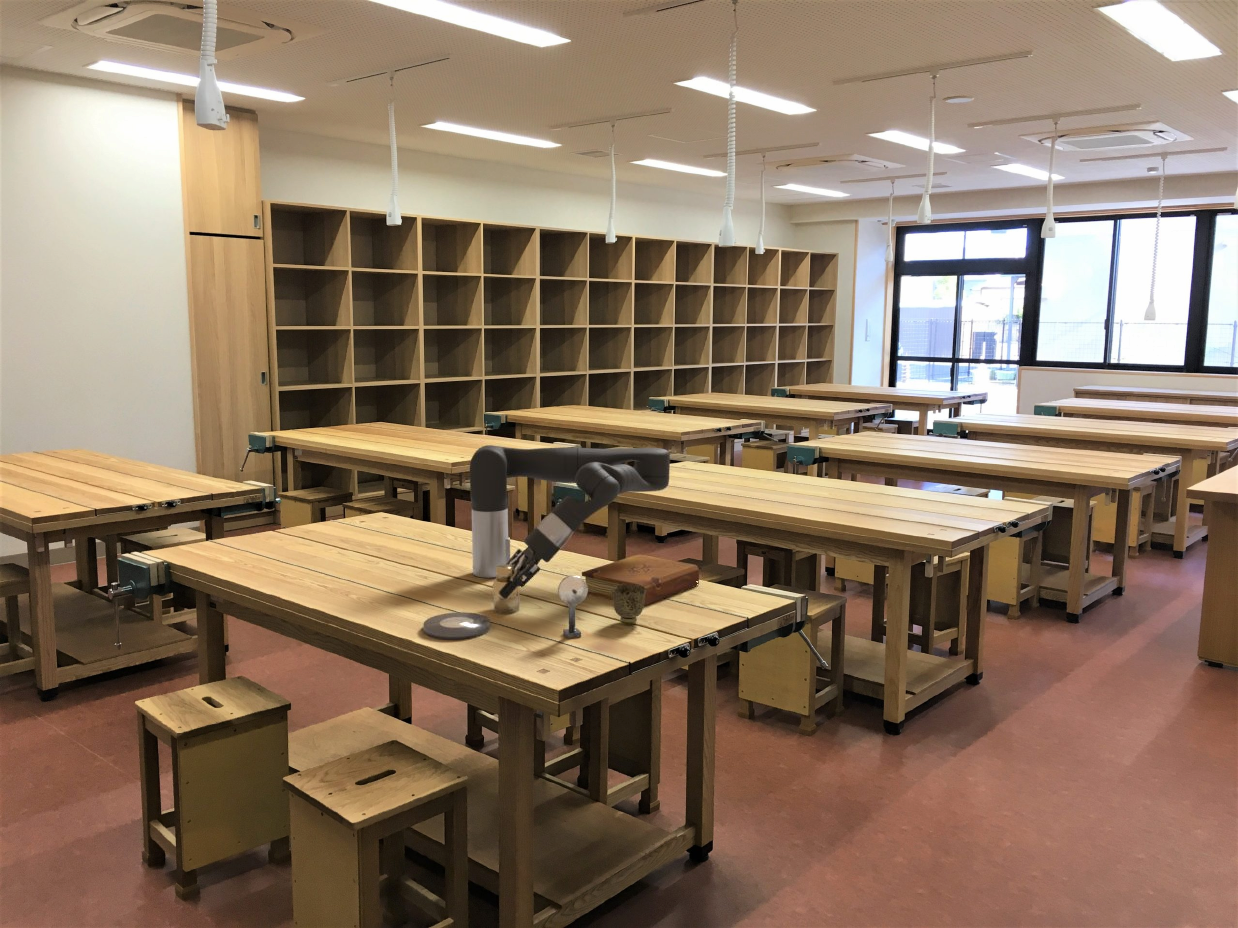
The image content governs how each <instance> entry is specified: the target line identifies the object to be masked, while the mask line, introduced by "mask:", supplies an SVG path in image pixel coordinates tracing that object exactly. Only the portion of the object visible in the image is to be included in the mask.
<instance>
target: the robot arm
mask: <svg viewBox="0 0 1238 928" xmlns="http://www.w3.org/2000/svg"><path fill="white" fill-rule="evenodd" d="M632 461H634V464H633V466H634V467H632V466H630V465H629V464H625V463H626V462H632ZM670 464H671V454H670V452H669V450H667V449H664V448H659V447H639V448H638V447H637V448H636V447H633V448H587V447H565V446H564V447H541V448H538V447H537V448H529V449H528V448H515V447H507V446H501V445H498V446H497V445H493V444H492V445H491V444H489V445H483V446H481V447H478V449H477V450H475V452H474V454H473V455H472V457H471V459H470V461H469V487H470V502H471V503H470V505H471V532H472V533H471V540H472V541H471V542H472V549H471V550H472V551H471V552H472V575H473V576H475V577H478V578H489V579H491V578H496V567H497V566H499V565H514V566H516V568H515V569H514V574H513V576H512V577H511V579H510V581H508V582H507V583H506V584H505V585H504V587H503V588H502V589H501V590H500V591H499V594H500V595H501V596H502V597H503V598H504V599H506V598H507V597H508V596H509V595H510V594H511V593H512V592H513V591H514V590H515V589H516V588H517V587H519V588H520V587H521V588H523V587H524V586H526V584H527V583H528V582H529V581H531V580H532V579H533V577H535V575H537V574H538V573H539V572H540V570H541V567H539V563H540V561H541V560H542V561H544V562H545V563H549V562H550V561H551V560H552V559H553V558H554V557H555V555H557V553H558V552H559V551H560V550H561V549H562V548H563V547H564V546H565V544H567V542H569V540H570V539H571V537H572V536H573V534H574V533H576V531H577V530H578V529H579V528H580V527H581V525H582V524H583V523H584V522H585V521H586V520H587V519H588V518H590V517H591V516H593V515H594V514H595V513H596V512H598V511H600V510H602V509H604V508H605V507H607V506H608V505H610V504H611V503H612V502H614V500H615V499H616V498H617V497H618V496H619V495H620V494H624V493H645V492H646V493H648V492H649V493H650V492H659V491H663V490H665V489H667V488H668V486H669V482H670V469H671V468H670V467H671V466H670ZM522 477H523V478H531V479H535V480H536V479H537V480H541V481H546V482H551V483H558V484H559V483H560V484H576V486H577V488H578V489H579V490H580V491H582V492H583V493H584V494H585V495H586V496H587V497H588V498H589V499H588V500H586V501H581V500H579V499H577V498H575V497H574V496H569V495H567V496H565V497H564V498H563V499H562V500H561V501H560V502H559V503H558V504H557V506H555V508H553V510H551V512H550V513H549V514H547V515H546V516H544V518H543V519H542V520H541V521H540V522H539V523H538V524H537V526H536V527H535V528H533V530H532V531H531V532H529V534H528V535H527V536H526V538H524V539H523V542H524V544H525V545H526V546H527V547H526V548H525V549H524V550H521V549H520V548H518V549H516V551H515V552H514V554H513V555H512V556H511V538H510V537H509V524H508V523H509V521H508V520H509V515H508V512H509V511H508V503H509V502H508V499H509V498H508V478H522Z"/></svg>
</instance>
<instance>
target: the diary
mask: <svg viewBox="0 0 1238 928" xmlns="http://www.w3.org/2000/svg"><path fill="white" fill-rule="evenodd" d="M581 577H584V578H585V579H584V581H585V582H586V584H587V587H588V593H587V595H590V594H591V595H590V596H595V597H598V596H599V598H602V597H603V598H604V599H607V600H612V601H613V597H612V589H611V587H613V588H614V589H617V585H622V584H623V583H624V584H626V585H628V586H629V585H630V583H631V584H632V586H633V587H634V586H635V585H636V584H637V585H641V587H643V586H644V589H645V587H646V592H645V600H644V607H645V606H647V605H650V604H653V603H655V602H659V601H660V600H663V599H666V598H668V597H671V596H673V595H677V594H678V592H679V593H682V592H684V591H687V590H688V589H691V588H694V587H697V586H698V585H699V584H700V569H699V567H698V565H696V564H693V563H687V562H681V561H676V560H671V559H666V558H660V557H655V556H649V555H644V554H635V555H632V556H628V557H627V558H626V557H625V558H622V559H620V560H616V561H614V562H611V563H610V562H609V563H608V564H603V565H601V566H598V567H594V568H591V569H588V570H585V571H582V572H581ZM696 581H698V583H697V582H696ZM697 584H698V585H697ZM696 585H697V586H696ZM693 586H694V587H693ZM686 589H687V590H686ZM683 590H684V591H683Z"/></svg>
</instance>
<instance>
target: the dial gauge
mask: <svg viewBox="0 0 1238 928" xmlns="http://www.w3.org/2000/svg"><path fill="white" fill-rule="evenodd" d="M557 592H558V593H557V594H558V597H559V598H560V599H561V601H562V602H563V603H565V604H567V605H568V628H564V629H563V631H562V632H563V633H562V634H563V635H564V637H565V638H566V639H567V638H568V639H574V638H573V637H577V638H582V632H581V630H580V629H578V628H577V627H576V606H578V605H579V604H581V603H583V602H584V601H585V599H586V598H587V596H588V594H587V593H588V587H587V584H586V580H585V579H583V578H582V576H579V575H575V574H572V575H567V576H566V577H564V578H563V579H562V580H561V581H560V583H559V585H558V588H557Z"/></svg>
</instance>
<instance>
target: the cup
mask: <svg viewBox="0 0 1238 928" xmlns="http://www.w3.org/2000/svg"><path fill="white" fill-rule="evenodd" d="M611 589H612V597H613V600H612V604H613V610H614V612H615V614H617V615H618V616H619V618H620V619H619V621H620V623H621V624H623V625H625V624H627V625H626V626H631V625H630V624H632V625H634V624H636V623H637V620H638V616H640V615H641V613H642V612H643V610H644V608H645V606H644V600H645V592H646V587H645V589H644V586H643V587H641V585H637V584H636V585H635V586H634V587H633V586H632V584H631V583H630V585H629V586H628V585H626V584H624V583H623V584H622V585H617V589H614V588H613V587H611Z"/></svg>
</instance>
